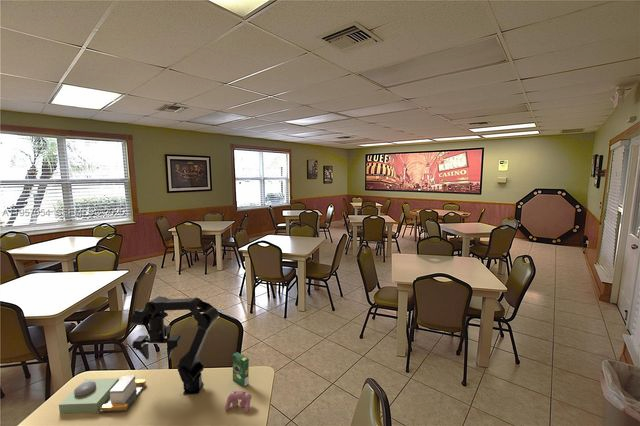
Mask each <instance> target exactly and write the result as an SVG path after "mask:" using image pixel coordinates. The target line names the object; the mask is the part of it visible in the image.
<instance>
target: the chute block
mask: <svg viewBox="0 0 640 426" xmlns="http://www.w3.org/2000/svg"><path fill="white" fill-rule="evenodd" d="M136 380H137V379H136V375H133V374H132V375H122V376H121V377H120V378H119V381H118V382H117V383H116V385H115V386H114V387H113V388H112V389H111V390H110V398H109V399H110V402H111V404H124V403H125V402H126V401H127V399H128V398H129V397H130V395H131V394H132V393H133V391H134V390H135V389H136Z"/></svg>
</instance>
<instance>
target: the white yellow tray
mask: <svg viewBox="0 0 640 426" xmlns="http://www.w3.org/2000/svg"><path fill="white" fill-rule="evenodd" d="M146 381H147V380H146V379H136V389H135V390H134V391H133V393H132V394H131V395H130V397H129V398H128V399H127V401H126V402H125V403H124V404H111V402H110V398H109V399H108V400H107V402H106V403H105V404H104V405H103V406H102V408H101V409H100V410H99V411H98V414H109V413H110V414H113V413H114V414H115V413H117V414H118V413H126V412H128V410H129V409H130V407H131V406H132V405H133V403H134V402H135V400H136V399H137V397H138V396H139V395H140V393H141V392H142V391H143V389H144V388H145V386H146V385H147V384H146Z"/></svg>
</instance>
